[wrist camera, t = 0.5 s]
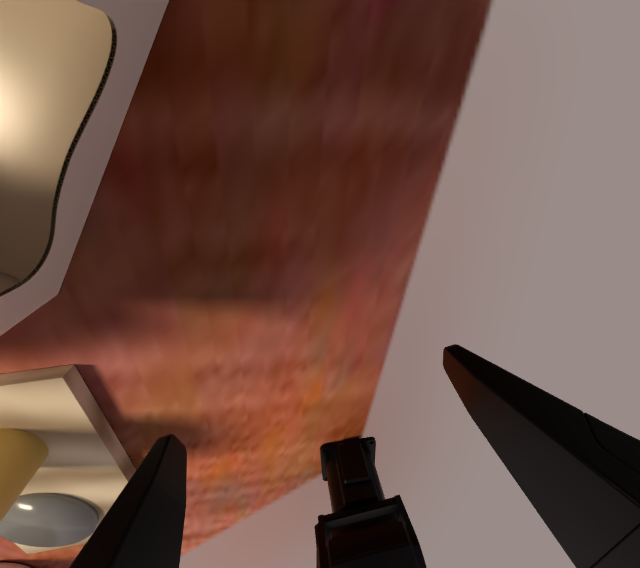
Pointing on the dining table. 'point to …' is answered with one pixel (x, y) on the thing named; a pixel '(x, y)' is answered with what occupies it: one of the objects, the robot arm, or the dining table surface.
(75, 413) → the base board
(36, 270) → the gable box
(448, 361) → the robot arm
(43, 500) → the slate seat
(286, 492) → the dining table surface
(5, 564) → the beverage bottle
